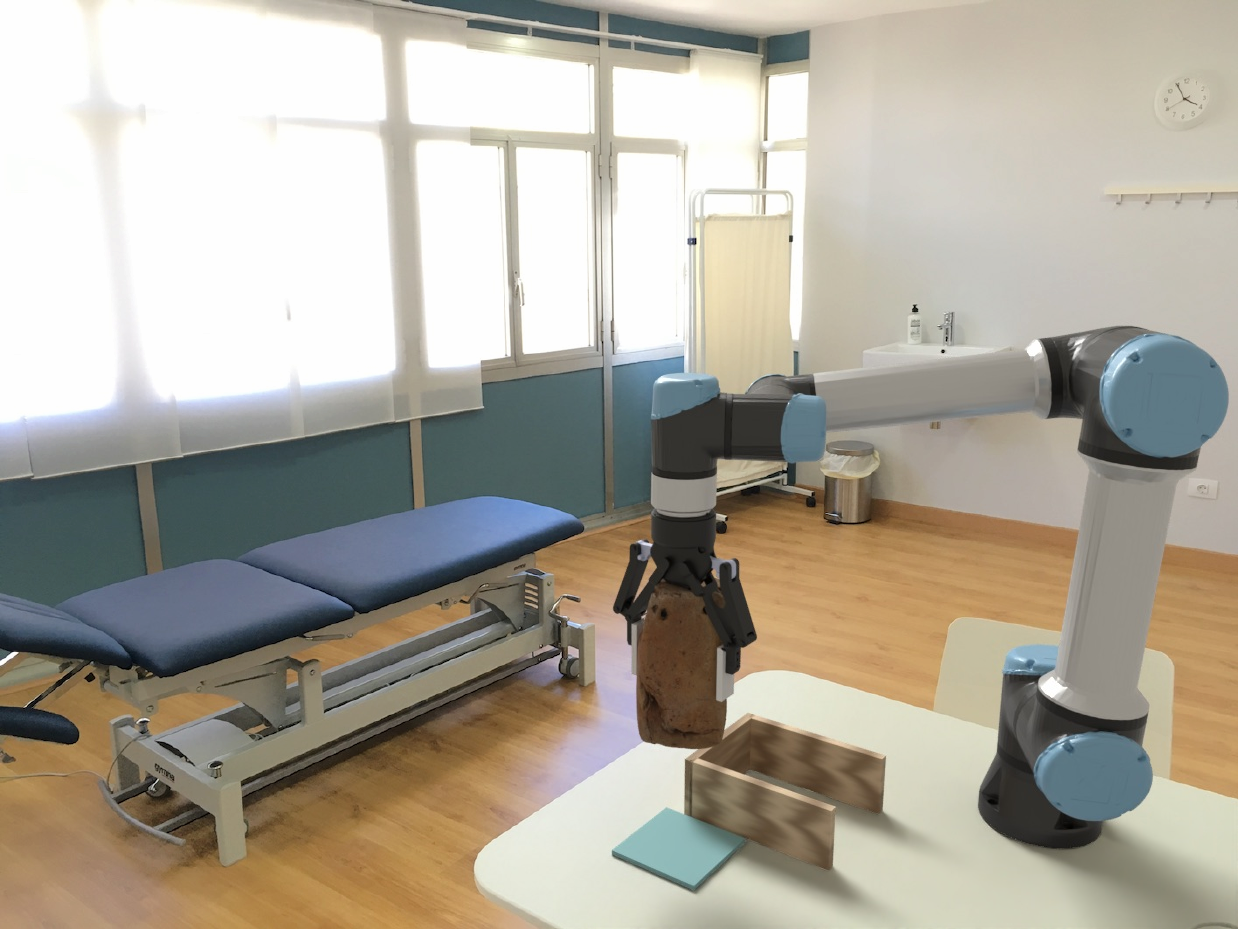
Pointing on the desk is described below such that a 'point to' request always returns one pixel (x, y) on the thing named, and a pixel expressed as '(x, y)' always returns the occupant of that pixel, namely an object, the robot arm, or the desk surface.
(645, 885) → the desk surface
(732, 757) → the wooden u-shaped enclosure
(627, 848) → the mat
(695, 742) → the brown pitted rock
